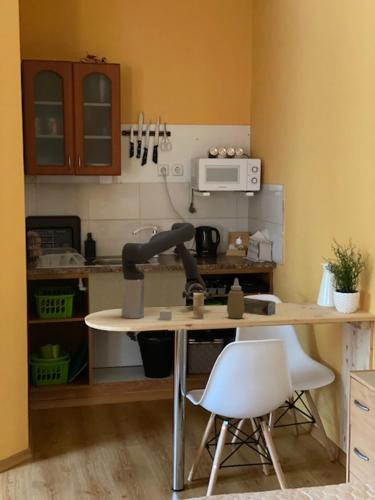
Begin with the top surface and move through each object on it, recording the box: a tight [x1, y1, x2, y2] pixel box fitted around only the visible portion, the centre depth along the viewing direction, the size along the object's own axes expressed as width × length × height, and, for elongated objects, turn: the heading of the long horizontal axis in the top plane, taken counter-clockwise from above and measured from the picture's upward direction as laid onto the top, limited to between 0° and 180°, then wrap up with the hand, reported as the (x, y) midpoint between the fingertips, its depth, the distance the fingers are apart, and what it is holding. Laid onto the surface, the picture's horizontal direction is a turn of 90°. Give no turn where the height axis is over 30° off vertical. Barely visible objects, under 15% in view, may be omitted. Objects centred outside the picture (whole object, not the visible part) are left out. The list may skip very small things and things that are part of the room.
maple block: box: [192, 293, 205, 320], centre depth 290 cm, size 4×4×11 cm
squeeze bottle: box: [226, 277, 245, 320], centre depth 291 cm, size 8×8×18 cm
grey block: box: [159, 309, 173, 321], centre depth 285 cm, size 5×5×4 cm
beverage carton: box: [243, 297, 277, 316], centre depth 308 cm, size 8×19×7 cm, turn 56°
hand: (197, 297), depth 301 cm, fingers open, 8 cm apart
